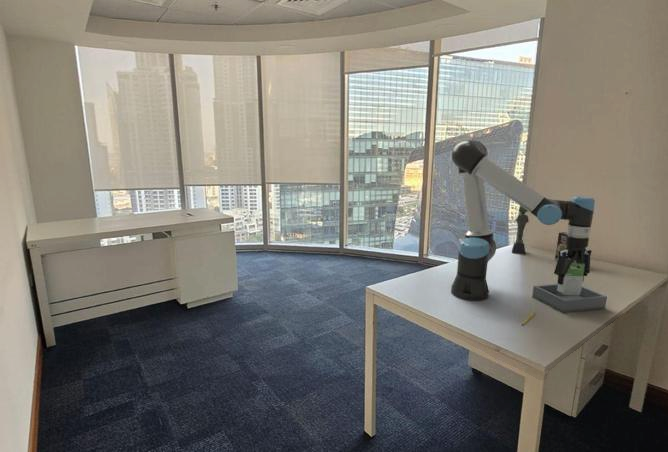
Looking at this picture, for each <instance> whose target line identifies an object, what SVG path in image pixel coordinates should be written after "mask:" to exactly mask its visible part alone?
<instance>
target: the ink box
mask: <svg viewBox="0 0 668 452" xmlns="http://www.w3.org/2000/svg"><path fill="white" fill-rule="evenodd" d="M577 266H579V267H581V268H577ZM574 267H575V268H574ZM584 268H585V264H575V263H571V265H570V267H569V269H568V271H567V273H566V275H565V277H566V284H565V290H564V293H561V292H559V291H558V292H559V293H560V294H562V295H580V293H581V286H583V283H582V280H583V274H584Z"/></svg>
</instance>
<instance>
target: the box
mask: <svg viewBox="0 0 668 452" xmlns="http://www.w3.org/2000/svg"><path fill="white" fill-rule="evenodd" d="M557 287H558V283H551V284H550V283H549V284H543V285H540V284H539V285H533V287H532V288H533V289H532V294H531V295H532V297H531V298H533V299H534V300H537V301H539V302H541V303H543V304H544V305H547V306H548V307H550V308H552V309H554V310H556V311H558V312H560V313H562V314H568V313H578V312H585V311H587V312H588V311H595V310H596V311H597V310H604V309H606V305H607V299H608V296H606V295H605V294H601V293H600V292H597V291H594V290H593V289H590V288H588V287H585V286H583V285H582V289H581V293H580V295H562V294H560V293H559V292H558V291H557Z"/></svg>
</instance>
